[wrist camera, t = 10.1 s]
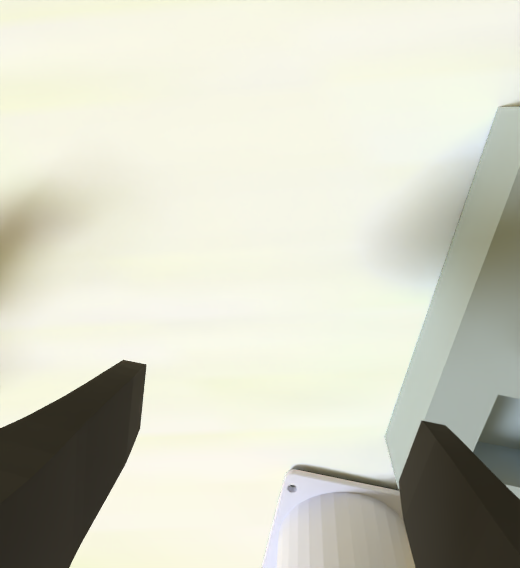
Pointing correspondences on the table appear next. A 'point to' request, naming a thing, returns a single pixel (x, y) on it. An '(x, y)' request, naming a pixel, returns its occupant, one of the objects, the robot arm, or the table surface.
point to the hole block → (474, 323)
